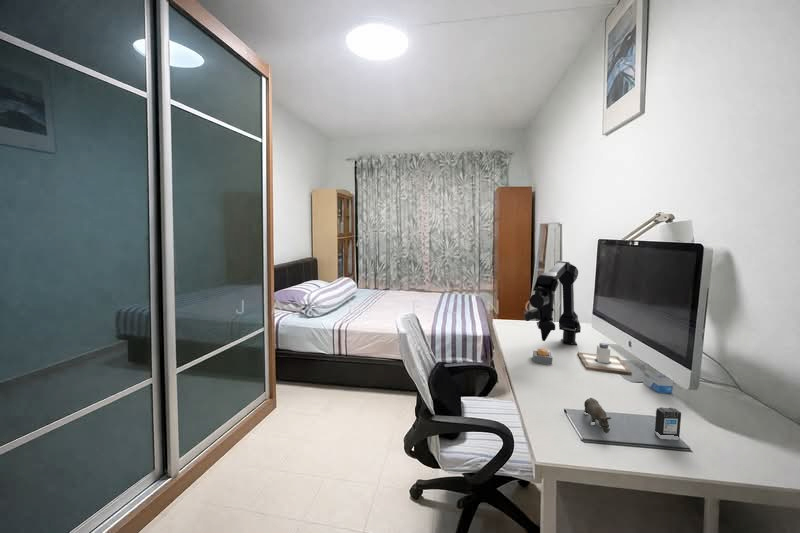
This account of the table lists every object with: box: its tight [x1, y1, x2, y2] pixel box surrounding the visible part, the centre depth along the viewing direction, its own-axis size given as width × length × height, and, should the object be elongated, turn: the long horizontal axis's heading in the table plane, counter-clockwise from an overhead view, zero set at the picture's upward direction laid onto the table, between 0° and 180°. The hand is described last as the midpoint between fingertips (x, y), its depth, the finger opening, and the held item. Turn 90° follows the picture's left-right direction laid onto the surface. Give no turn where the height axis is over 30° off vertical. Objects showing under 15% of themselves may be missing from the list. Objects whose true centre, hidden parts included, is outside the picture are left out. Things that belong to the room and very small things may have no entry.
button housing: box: [532, 350, 553, 366], centre depth 148 cm, size 7×7×3 cm
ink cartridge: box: [654, 407, 682, 438], centre depth 93 cm, size 5×2×8 cm, turn 87°
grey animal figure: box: [583, 397, 612, 434], centre depth 99 cm, size 4×14×6 cm, turn 172°
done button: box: [537, 348, 549, 356], centre depth 148 cm, size 4×4×3 cm
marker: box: [595, 342, 611, 363], centre depth 145 cm, size 4×4×7 cm
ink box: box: [642, 362, 674, 394], centre depth 123 cm, size 9×5×12 cm, turn 179°
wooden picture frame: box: [577, 351, 633, 375], centre depth 146 cm, size 18×16×1 cm
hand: (543, 340), depth 147 cm, fingers closed
